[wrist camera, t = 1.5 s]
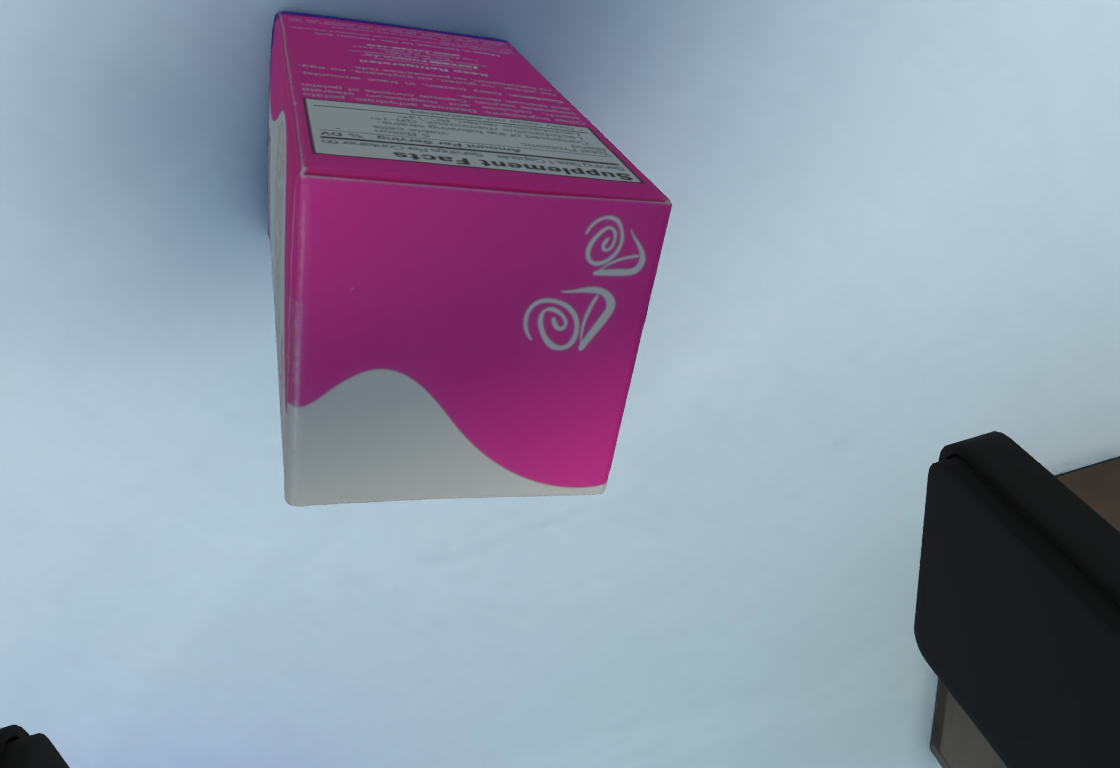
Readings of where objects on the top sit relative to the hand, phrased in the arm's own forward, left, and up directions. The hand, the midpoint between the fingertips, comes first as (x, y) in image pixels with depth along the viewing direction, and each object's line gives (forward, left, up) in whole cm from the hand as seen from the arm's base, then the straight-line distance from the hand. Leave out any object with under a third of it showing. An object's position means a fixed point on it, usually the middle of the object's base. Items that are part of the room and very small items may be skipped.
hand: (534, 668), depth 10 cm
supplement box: (0, 0, -18) cm, 18 cm away
